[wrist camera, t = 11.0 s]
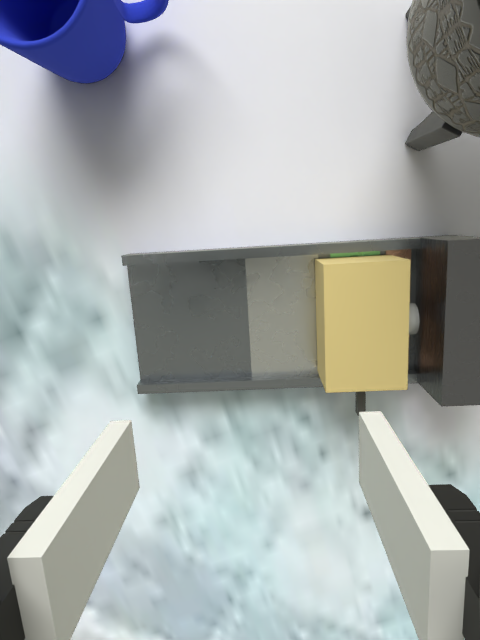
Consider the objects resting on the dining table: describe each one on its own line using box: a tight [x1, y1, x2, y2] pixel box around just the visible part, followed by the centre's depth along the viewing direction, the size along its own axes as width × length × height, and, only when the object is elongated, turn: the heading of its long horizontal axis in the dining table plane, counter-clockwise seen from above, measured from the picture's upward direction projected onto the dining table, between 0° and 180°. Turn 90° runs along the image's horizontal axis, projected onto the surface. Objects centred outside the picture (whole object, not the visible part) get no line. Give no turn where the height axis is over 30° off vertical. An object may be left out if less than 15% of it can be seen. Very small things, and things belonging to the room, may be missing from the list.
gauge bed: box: [122, 235, 457, 394], centre depth 37 cm, size 27×12×2 cm, turn 93°
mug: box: [0, 0, 168, 83], centre depth 29 cm, size 8×12×10 cm
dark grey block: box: [414, 236, 480, 406], centre depth 33 cm, size 3×12×6 cm, turn 3°
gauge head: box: [315, 255, 420, 416], centre depth 34 cm, size 7×12×5 cm, turn 3°
